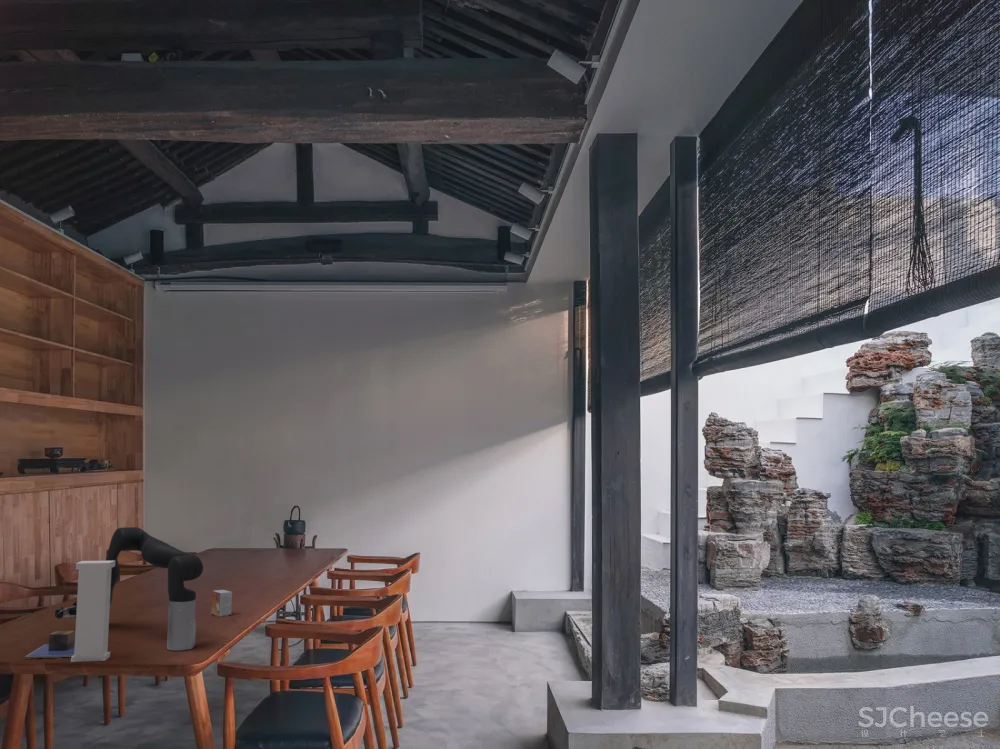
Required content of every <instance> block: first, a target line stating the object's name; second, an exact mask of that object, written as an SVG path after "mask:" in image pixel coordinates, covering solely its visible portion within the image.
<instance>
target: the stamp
mask: <svg viewBox="0 0 1000 749" xmlns="http://www.w3.org/2000/svg"><path fill="white" fill-rule="evenodd" d="M75 631H76V630H56V631H54V632H51V633H49V636H48V637H49V638H48V644H49V650H69V649H71V648H73V647H74V644H75Z"/></svg>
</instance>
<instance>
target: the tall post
mask: <svg viewBox="0 0 1000 749" xmlns="http://www.w3.org/2000/svg"><path fill="white" fill-rule="evenodd" d="M112 567H115V561H105V560H81V561H78V562H76V563H75V570H78V578H77V594H76V595H77V599H76V601H77V612H76V618H75V630H74V631H75V649H74V655H73V656H72V657H71V658H70V662H71V663H77V662H78V663H79V662H102V661H103V662H105V661H106V660H108V659H109V658H110V657H111V651H108V649H109V648H108V646H109V626H110V608H111V607H110V606H111V605H110V590H111V570H112Z"/></svg>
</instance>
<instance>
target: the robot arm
mask: <svg viewBox="0 0 1000 749" xmlns="http://www.w3.org/2000/svg"><path fill="white" fill-rule="evenodd" d="M112 534H113V535H112V537H111V539H110V543H109V546H108V550H107V553H106V557H105V560H104V561H115V567H112V570H111V590H110V606H112V601H113V593H114V588H115V586H116V584H117V581H118V580H119V578H120V573H121V566H120V564H119V561H118V557H119V555H120V553H121V552H123V551H124V552H128V551H134V552H135V551H138V552H141V558H142V559H143V561H145V562H146V563H148V564H149V565H152V566H154V567H157V568H163V569H167V593H168V617H167V635H166V636H167V637H166V638H167V640H166V641H167V642H166V649H167V650H168V651H175V652H176V651H186V650H192V649H193V648H194V647H196V635H197V634H196V631H197V619H196V600H197V593H196V591H195V590H193V589H188V588H186V587H185V584H184V582H187V581H188V582H189V581H193V580H196V579H198V578H199V577H200V576H201V575H202V573H203V571H204V565H203V562H202V560H201V558H199V556H197V555H195V554H192V553H189V552H186V551H183V550H181V549H178V548H176V547H174V546H173V545H170V544H169V543H167V542H164V541H162V540H160V539H158V538H156V537H154V536H153V535H150V534H149V533H148V532H147V531H145V530H144V529H142V528H140V527H136V526H135V527H134V526H133V527H132V526H131V527H119V528H117V529H116V530H114V532H113V533H112ZM76 612H77V600H76V601H74V602H73V603H72V604H71V606H70V607H63V606H61V607H58V608H57V609H55V611H54V617H55V618H57V619H58V620H60V619H62V618H72V617H73V618H75V619H76Z"/></svg>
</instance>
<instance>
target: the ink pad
mask: <svg viewBox="0 0 1000 749" xmlns="http://www.w3.org/2000/svg"><path fill="white" fill-rule="evenodd" d="M74 649H75V644H74V647H73V648H71V649H69V650H49V643H48V644H47V643H46V644H45V643H44V644H43V645H41V646H39V647H38V648H36V649H34V650H33V651H32V652H30V653H28V654H26V655H25V656H24V658H25V657H69V658H68V659H71V658H70V657H72V656H73V655H74Z"/></svg>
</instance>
